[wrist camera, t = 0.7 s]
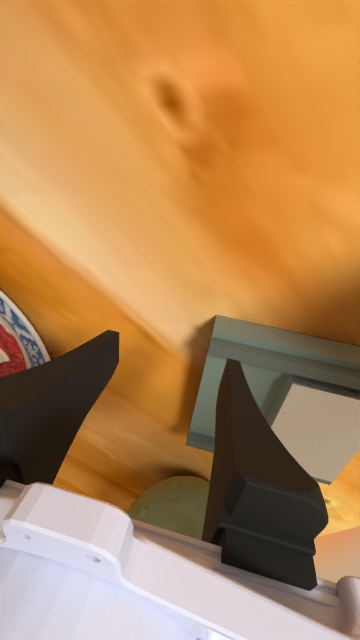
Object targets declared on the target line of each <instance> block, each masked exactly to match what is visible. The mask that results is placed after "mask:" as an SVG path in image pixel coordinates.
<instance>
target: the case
mask: <svg viewBox="0 0 360 640" xmlns="http://www.w3.org/2000/svg"><path fill="white" fill-rule="evenodd" d="M227 358H229V359H233V360H238V361H240V363H241V365H242V369H243V372H244V375H245V378H246V380H247V383H248V385H249V388H250V390H251V392H252V394H253V397H254V399H255V401H256V403H257V405H258V407H259V409H260V410H261V412H262V414H263V416H264V418H265V419H267V417H268V415H269V413H270V411H271V408H272V406H273V404H274V402H275V400H276V398H277V396H278V394H279V391H280V389H281V387H282V385H283V383H284V381H285V379H286V376H287V374H288V373H289V374H293V375H298V376H302V377H306V378H310V379H314V380H319V381H323V382H327V383H331V384H336V385H340V386H344V387H348V388H352V389H357V390H360V346H355V345H351V344H346V343H341V342H337V341H332V340H328V339H323V338H319V337H314V336H310V335H305V334H301V333H296V332H292V331H287V330H283V329H278V328H273V327H269V326H264V325H260V324H255V323H251V322H246V321H242V320H237V319H233V318H228V317H224V316H219V315H216V318H215V322H214V326H213V330H212V335H211V339H210V343H209V347H208V351H207V356H206V360H205V364H204V368H203V372H202V377H201V381H200V385H199V389H198V393H197V397H196V402H195V406H194V410H193V414H192V418H191V423H190V428H189V432H188V437H187V442H186V445H187V446H191V447H195V448H198V449H202V450H205V451H209V452H213V453H214V446H215V419H216V402H217V396H218V389H219V385H220V381H221V378H222V375H223V371H224V368H225V364H226V361H227ZM311 477H312V476H311ZM312 478H313V479H314V480H315V481H317V482H321V483H324V484H328V485H330V484H331V483H332V482H330V481H326V480H323V479H319V478H315V477H312Z"/></svg>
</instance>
